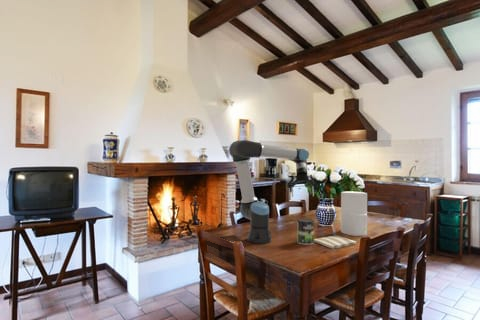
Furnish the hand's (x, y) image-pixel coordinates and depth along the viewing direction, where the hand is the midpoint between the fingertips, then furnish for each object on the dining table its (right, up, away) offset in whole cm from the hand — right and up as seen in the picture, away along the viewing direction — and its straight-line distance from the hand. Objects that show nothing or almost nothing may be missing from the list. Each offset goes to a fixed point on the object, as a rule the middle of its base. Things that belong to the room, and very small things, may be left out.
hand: (302, 195), depth 193 cm
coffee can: (-1, -28, -10) cm, 30 cm away
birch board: (+18, -28, -11) cm, 35 cm away
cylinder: (+39, -28, +15) cm, 50 cm away
